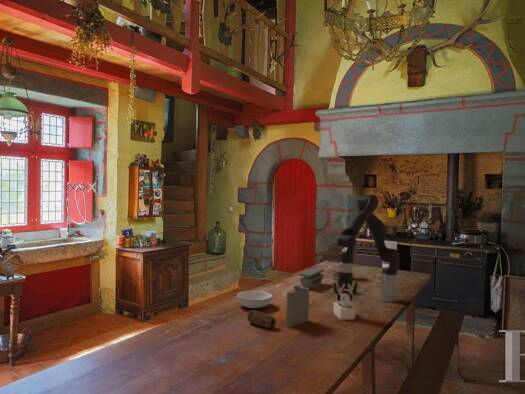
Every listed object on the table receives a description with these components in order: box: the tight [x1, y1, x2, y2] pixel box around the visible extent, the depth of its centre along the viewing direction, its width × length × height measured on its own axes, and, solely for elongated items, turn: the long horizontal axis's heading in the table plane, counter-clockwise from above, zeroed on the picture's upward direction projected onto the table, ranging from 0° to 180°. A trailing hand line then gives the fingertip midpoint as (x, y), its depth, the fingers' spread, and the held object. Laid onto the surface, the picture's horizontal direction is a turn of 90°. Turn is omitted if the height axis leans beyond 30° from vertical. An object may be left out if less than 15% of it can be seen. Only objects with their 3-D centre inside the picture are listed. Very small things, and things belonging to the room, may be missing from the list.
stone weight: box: [246, 309, 277, 329], centre depth 202 cm, size 15×7×7 cm, turn 57°
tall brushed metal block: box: [338, 293, 351, 308], centre depth 221 cm, size 4×7×10 cm, turn 8°
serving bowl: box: [236, 290, 273, 309], centre depth 234 cm, size 21×21×7 cm
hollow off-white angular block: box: [332, 301, 357, 321], centre depth 221 cm, size 8×12×6 cm
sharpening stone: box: [298, 267, 325, 290], centre depth 284 cm, size 25×8×11 cm, turn 149°
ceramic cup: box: [331, 274, 345, 293], centre depth 272 cm, size 13×10×10 cm
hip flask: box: [285, 284, 310, 328], centre depth 207 cm, size 16×4×20 cm, turn 134°
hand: (344, 300), depth 220 cm, fingers open, 5 cm apart
